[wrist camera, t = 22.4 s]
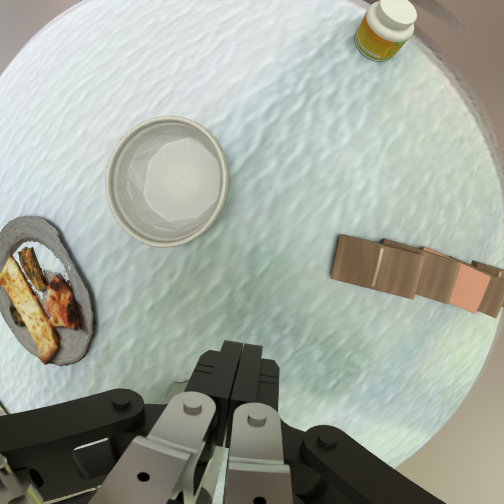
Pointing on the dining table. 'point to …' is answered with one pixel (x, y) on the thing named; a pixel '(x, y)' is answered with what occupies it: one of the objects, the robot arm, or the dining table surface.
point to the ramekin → (167, 181)
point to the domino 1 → (377, 266)
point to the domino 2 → (434, 274)
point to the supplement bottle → (385, 29)
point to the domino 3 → (467, 286)
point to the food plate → (54, 287)
